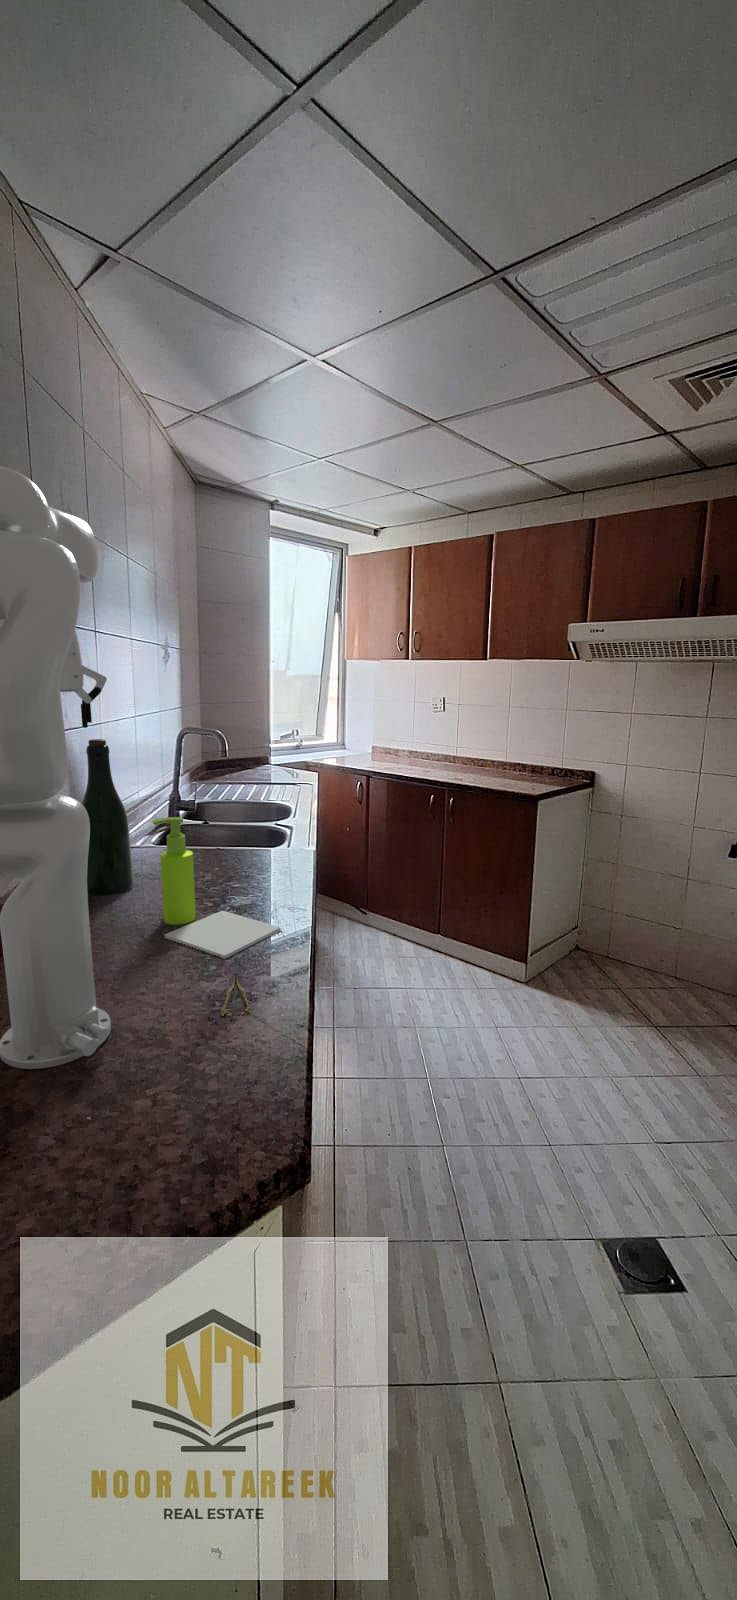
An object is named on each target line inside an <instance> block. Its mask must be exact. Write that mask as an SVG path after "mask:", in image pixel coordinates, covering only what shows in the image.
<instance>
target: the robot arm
mask: <svg viewBox="0 0 737 1600" xmlns="http://www.w3.org/2000/svg"><path fill="white" fill-rule="evenodd" d="M48 504H49V503H48V502H47V499H46V497H45V495H44V493H43V492H42V491H41V489H40V488H39V487H38V485H37V484H36V483H34V482H33V481H32V480H31V479H30V478H29V477H28V476H26V475H24V474H22V473H21V472H20V471H17V470H15V469H12V468H9V467H5V466H1V465H0V624H2V625H1V626H0V879H5V878H6V879H20V880H21V882H20V883H19V884H18V885H17V886H16V888H15V889H14V890H13V891H12V892H11V894H10V895H9V896H8V897H7V899H6V900H5V902H4V904H3V906H2V908H1V910H0V936H1V937H0V938H1V945H2V946H1V947H2V954H3V963H4V971H5V979H6V988H7V998H8V999H7V1000H8V1007H9V1008H8V1009H9V1015H10V1017H9V1019H10V1028H9V1029H8V1030H7V1031H6V1032H5V1033H4V1034H3V1035H2V1036H1V1038H0V1059H1V1061H3V1062H4V1064H7V1065H8V1066H11V1067H12V1068H18V1069H24V1070H25V1069H26V1070H37V1069H41V1070H42V1069H46V1068H52V1067H56V1066H57V1067H58V1066H61V1065H64V1064H68V1063H71V1062H73V1061H76V1060H78V1059H79V1058H83V1057H89V1056H91V1055H93V1054H94V1053H95V1052H96V1050H97V1048H99V1046H101V1045H102V1044H103V1043H104V1042H105V1041H106V1040H107V1038H108V1036H109V1035H110V1033H111V1031H112V1022H111V1021H112V1019H111V1018H110V1017H111V1016H110V1015H109V1014H108V1013H107V1012H106V1011H105V1010H103V1009H101V1008H99V1007H97V1001H96V1000H97V999H96V987H95V976H94V962H93V961H94V960H93V951H92V950H93V949H92V939H91V938H92V937H91V927H90V925H91V924H90V913H89V912H90V911H89V895H88V892H87V863H88V851H89V839H90V823H89V816H88V813H87V811H86V809H85V807H84V806H83V805H82V802H81V801H79V800H77V799H75V798H74V797H71V796H68V795H64V794H60V793H61V792H62V791H63V789H64V788H65V786H66V784H67V781H68V776H69V756H68V749H67V739H66V737H67V736H66V729H65V723H64V722H65V721H64V713H63V706H62V696H61V692H63V693H65V692H66V693H69V692H70V693H71V692H74V693H75V694H76V695H77V696H78V697H79V698H80V700H81V703H80V713H81V725H82V728H84V729H88V727H89V726H88V723H92V722H93V721H92V719H93V718H92V708H91V707H92V706H91V703H92V702H93V701H94V700H95V699H96V698H97V697H98V696H100V695H101V692H102V691H103V688H104V686H105V684H106V683H107V680H108V679H107V677H106V676H105V675H103V674H101V673H99V672H97V671H94V670H92V669H91V668H88V667H87V666H85V665H83V664H82V657H81V656H82V655H81V649H80V644H79V643H80V642H79V640H78V634H77V632H76V626H77V622H78V618H79V609H80V601H81V599H80V597H81V583H82V584H83V583H90V582H92V581H93V580H94V579H95V577H97V574H98V573H97V572H98V567H99V554H98V546H97V541H96V539H95V535H94V532H93V530H92V528H91V527H90V525H89V524H88V523H87V522H86V521H85V520H83V519H81V518H80V517H77V516H75V515H72V514H70V513H67V512H65V511H63V510H59V509H57V508H55V507H52V506H50V505H48ZM84 676H86V677H88V678H90V679H93V680H95V683H96V684H94V687H93V689H91V690H90V691H89V692H88V693H87V691H86V690H85V689H84V688H83V687H84Z"/></svg>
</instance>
